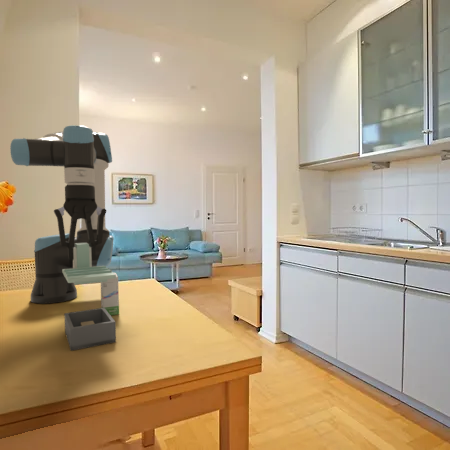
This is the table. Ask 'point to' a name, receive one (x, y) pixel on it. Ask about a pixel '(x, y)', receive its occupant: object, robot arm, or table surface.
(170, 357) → the table surface
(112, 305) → the ink box
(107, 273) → the lid
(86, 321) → the tub
